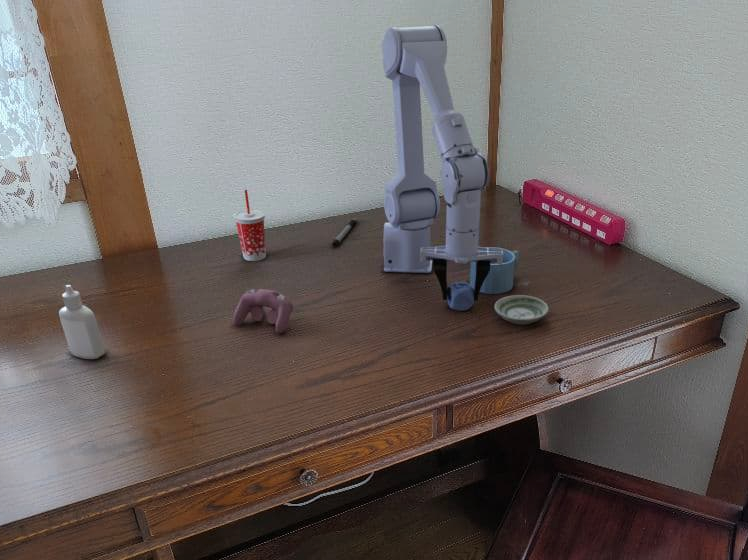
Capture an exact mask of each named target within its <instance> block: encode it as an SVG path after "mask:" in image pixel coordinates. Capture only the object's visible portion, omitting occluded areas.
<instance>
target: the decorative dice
mask: <svg viewBox="0 0 748 560" xmlns="http://www.w3.org/2000/svg"><path fill="white" fill-rule="evenodd" d="M446 301H447V304H448V307H449V308H450V309H451V310H454V311H458V312H463V311H468V310H469V309H470V308H472V307H473V305H474V304H475V301H474V289H473V288H472V286H471V285H470V282H466V281H455V282H452V283H451V284H450V285H449V286H447V300H446Z"/></svg>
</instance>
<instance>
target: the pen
mask: <svg viewBox="0 0 748 560" xmlns="http://www.w3.org/2000/svg"><path fill="white" fill-rule="evenodd" d="M357 222H358V220H357V218H356V217H352V218H351V220H350V221H349V222H348V223H347V224H346V226H345V227H344V228H343V229H342V231H341V232H340V233H339V234H338V235H337V236H336V237H335V238H334V240H333V242H332V247H337V246H338V245H340V243H341V242H342V241H343V239H344V238H345V237H346V235H347V234H348V233H349V232H350V231H351V229H352V228H353V227H354V226H355V225H356V224H357Z"/></svg>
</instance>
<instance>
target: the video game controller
mask: <svg viewBox="0 0 748 560" xmlns="http://www.w3.org/2000/svg"><path fill="white" fill-rule="evenodd" d="M264 307H266V308H269V309H270V310H269V312H267V313H266V310H265V308H264ZM293 310H294V303H293V301H292V300H291V298H289V297H287V296H285V295H284V294H282V293H281V292H278V291H276V290H273V289H267V288H257V289H253V288H252V289H250V290H246V291H245V293H243V294H242V296H241V297H240V300H239V301H238V304H237V306H236V308H235V311H234V313H233V318H232V321H233V324H234V325H235V326H240V325H241V324H242V323H243V322H244V321H245V320H246V318H247V317H248V315H249V313H250V315H251V319H253V321H255V322H262V321H264V320H265V318H267V322H268V323H270V325H271V324H272V325H275V331H276V333H277V334H279V335H281V334H282V333H284V331H285V330H286V329H287V327H288V325H289V322H290V318H291V314H292V312H293Z"/></svg>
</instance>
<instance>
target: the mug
mask: <svg viewBox="0 0 748 560" xmlns="http://www.w3.org/2000/svg"><path fill="white" fill-rule="evenodd" d="M484 248H489V249H496V250H503V263H502V264H496V263H493V262H491V263H490V272H489V274H488V275H487V277H486V278H485V280H484V282H483V284H482V286H481V289H480V292H479V293H481V294H487V295H500V294H504V293H507V292H509V291H511V290H512V289H513V287H514V283H515V282H514V281H515V272H516V271H518V265H519V253H520V252H519V250H517V249H515V250H509V249H506V248H502V247H495V246H485V247H484ZM475 278H476V262H469V284H470V285H471V286H472V288H473V290H474V286H475Z"/></svg>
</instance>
